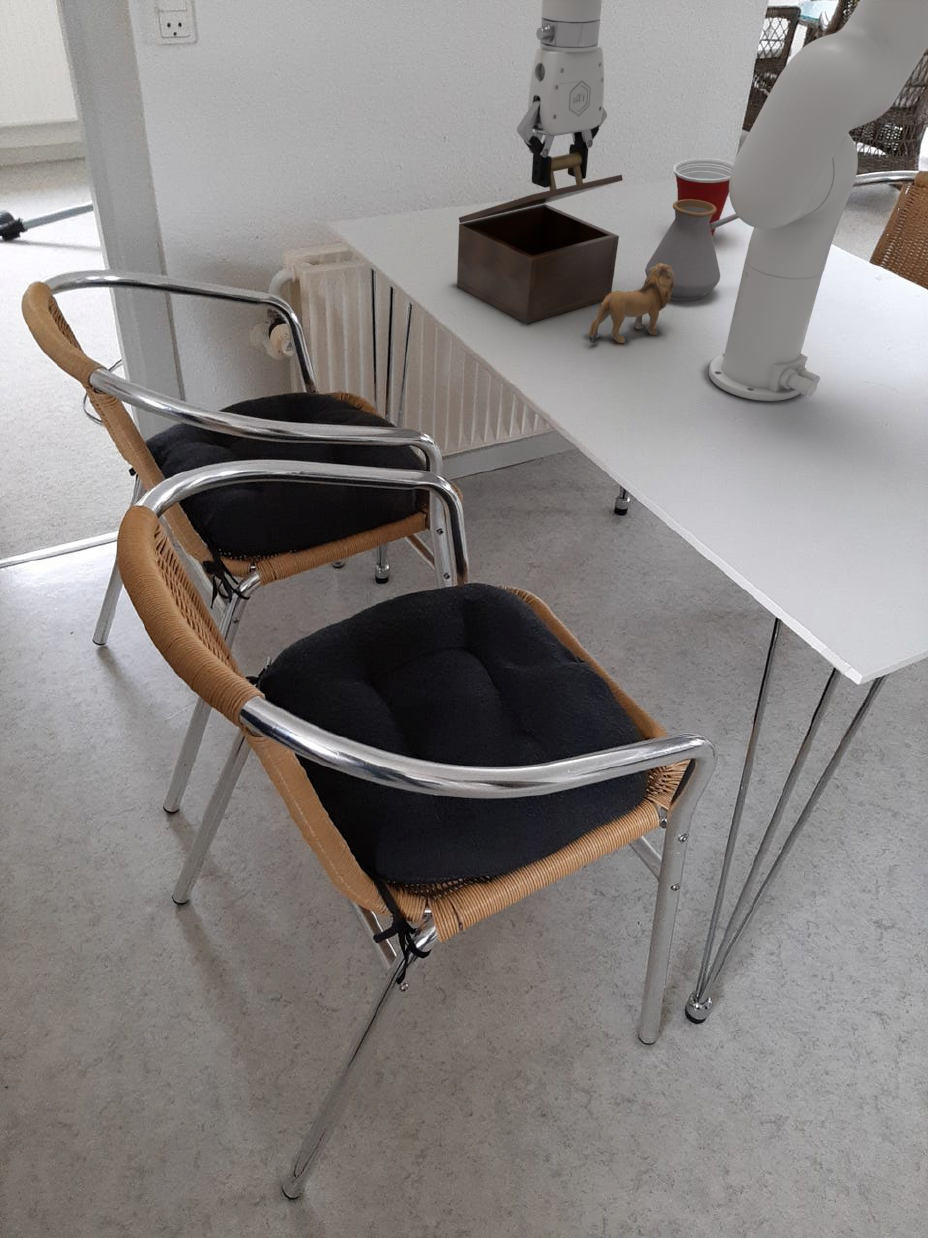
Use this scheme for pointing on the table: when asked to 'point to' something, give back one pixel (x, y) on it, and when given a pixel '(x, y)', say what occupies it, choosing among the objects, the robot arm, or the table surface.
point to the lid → (548, 196)
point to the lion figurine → (637, 302)
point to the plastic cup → (704, 182)
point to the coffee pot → (690, 249)
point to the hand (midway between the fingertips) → (558, 179)
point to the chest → (536, 262)
